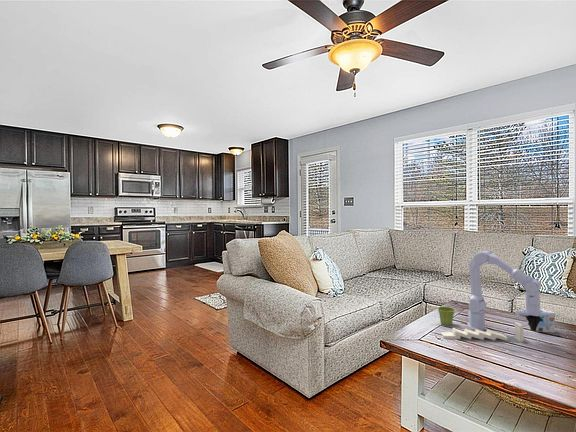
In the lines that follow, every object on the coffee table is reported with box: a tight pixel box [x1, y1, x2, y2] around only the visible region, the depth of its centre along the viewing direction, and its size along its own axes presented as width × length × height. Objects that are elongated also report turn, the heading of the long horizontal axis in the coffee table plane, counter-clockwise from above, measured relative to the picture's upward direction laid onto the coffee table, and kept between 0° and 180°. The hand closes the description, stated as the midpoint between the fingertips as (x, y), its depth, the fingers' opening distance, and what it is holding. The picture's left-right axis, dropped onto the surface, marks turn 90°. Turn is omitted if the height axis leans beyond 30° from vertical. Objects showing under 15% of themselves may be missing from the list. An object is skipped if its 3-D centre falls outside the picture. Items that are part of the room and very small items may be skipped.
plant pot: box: [436, 306, 456, 326], centre depth 188 cm, size 9×9×9 cm
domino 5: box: [485, 328, 508, 341], centre depth 164 cm, size 2×5×8 cm
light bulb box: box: [526, 308, 556, 333], centre depth 175 cm, size 11×7×11 cm, turn 76°
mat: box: [456, 335, 531, 344], centre depth 165 cm, size 8×34×1 cm, turn 80°
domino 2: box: [451, 327, 472, 339], centre depth 167 cm, size 2×5×8 cm
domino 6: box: [514, 322, 525, 342], centre depth 162 cm, size 2×5×8 cm, turn 169°
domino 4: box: [474, 329, 496, 340], centre depth 165 cm, size 2×5×8 cm
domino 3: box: [463, 328, 484, 340], centre depth 166 cm, size 2×5×8 cm
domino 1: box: [440, 331, 460, 340], centre depth 168 cm, size 2×5×8 cm
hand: (533, 330), depth 161 cm, fingers closed
